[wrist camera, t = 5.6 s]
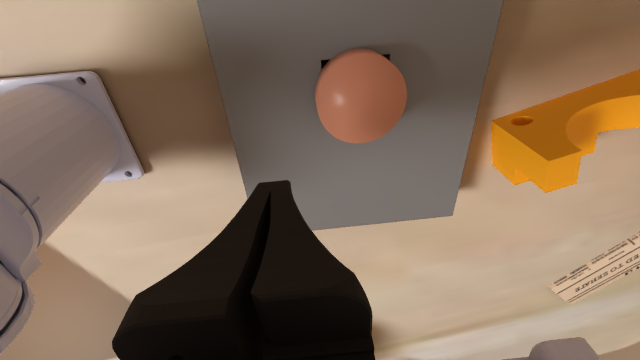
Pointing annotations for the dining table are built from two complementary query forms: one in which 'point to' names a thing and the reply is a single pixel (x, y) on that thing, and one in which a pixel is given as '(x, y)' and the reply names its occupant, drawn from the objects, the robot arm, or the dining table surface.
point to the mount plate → (301, 111)
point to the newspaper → (600, 271)
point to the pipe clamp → (563, 132)
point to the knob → (360, 95)
